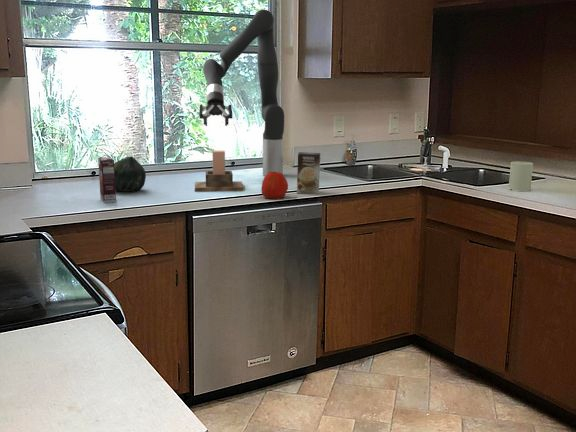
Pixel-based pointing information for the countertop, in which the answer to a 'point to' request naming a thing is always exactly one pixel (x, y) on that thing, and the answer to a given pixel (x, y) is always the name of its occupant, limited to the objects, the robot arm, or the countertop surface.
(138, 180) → the squash
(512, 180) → the can
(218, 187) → the sleeve holder
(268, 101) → the robot arm
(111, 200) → the supplement box
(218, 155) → the terracotta peg
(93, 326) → the countertop surface
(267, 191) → the apple
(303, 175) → the coffee box
